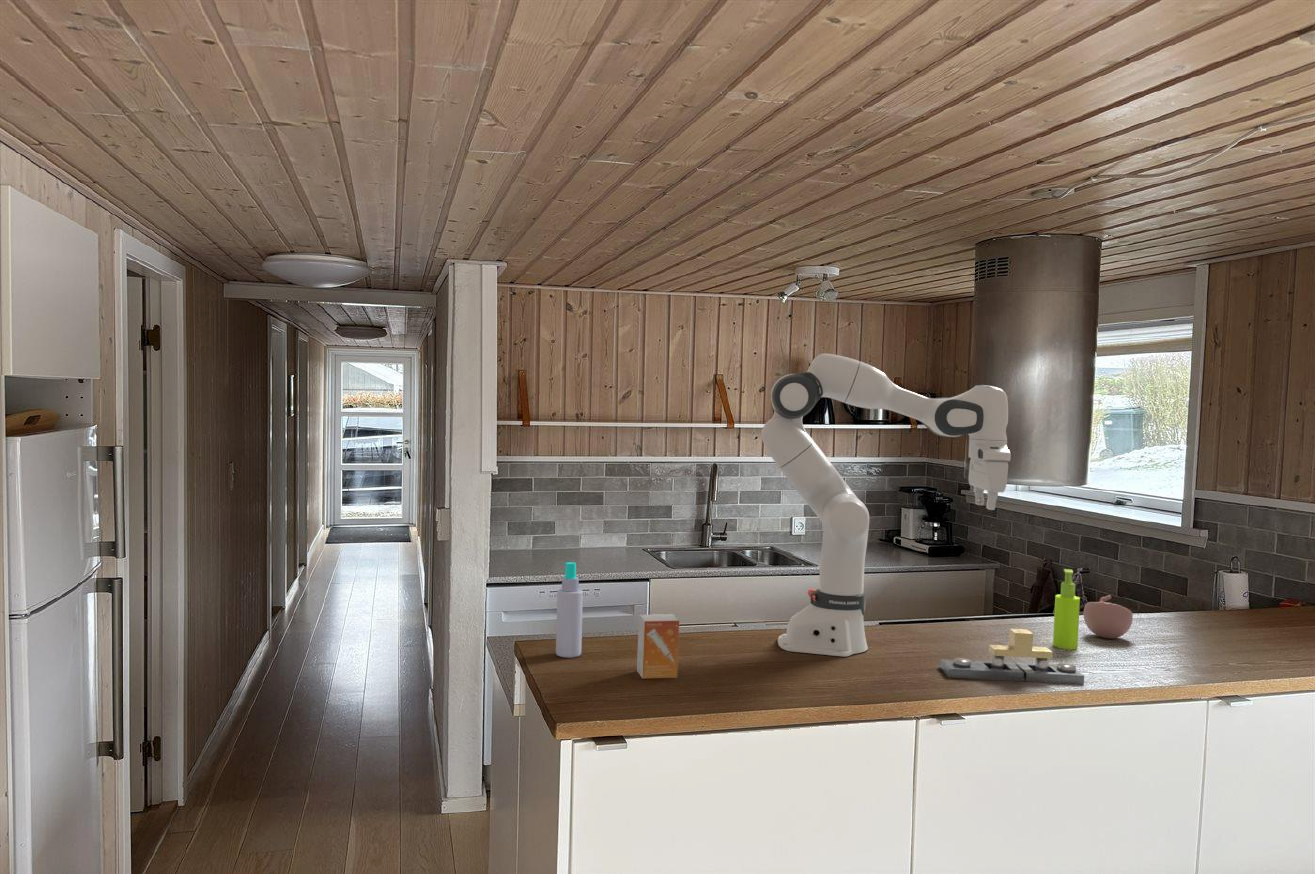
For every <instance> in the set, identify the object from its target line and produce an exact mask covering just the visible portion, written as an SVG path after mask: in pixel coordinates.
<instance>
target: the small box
mask: <svg viewBox="0 0 1315 874" xmlns="http://www.w3.org/2000/svg"><path fill="white" fill-rule="evenodd" d="M637 629H638V630H637V633H638V634H637V654H636V659H637V661H636V671H637V673H638V674H639V675H640V677H641V679H643V680H645V679H677V678H678V667H679V666H678V665H679V641H680V636H679V635H680V619H678V617H676V615H674V613H668V614H667V613H665V614H664V613H652V614H638V628H637Z"/></svg>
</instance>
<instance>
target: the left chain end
mask: <svg viewBox="0 0 1315 874" xmlns="http://www.w3.org/2000/svg"><path fill="white" fill-rule="evenodd" d="M939 663H940V664H939V669H941V670H942V672H943V673H944V674H945V675H946V677H947V678H951V679H952V678H953V679H954V678H955V679H969V680H971V679H972V680H989V681H990V680H991V681H1008V682H1009V681H1010V682H1011V681H1012V682H1024V681H1025V680H1024V672H1023V671H1022V670H1020V669H1019V668H1018V667H1017V666H1016V665H1015V663H1014V662H1013V661H1012V662H1010V661H1009V662H1008V661H1007V662H1006V661H1004V670H998V669H991V660H990V661H989V660H988V661H986V660H971V659H969V658H964V657H963V658H962V657H955V658H953V659H950V658H949V659H947V658H940V662H939Z"/></svg>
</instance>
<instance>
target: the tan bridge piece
mask: <svg viewBox="0 0 1315 874" xmlns="http://www.w3.org/2000/svg"><path fill="white" fill-rule="evenodd" d="M1008 636H1009V637H1008V645H1005V644H988V652H989V653H990V654H991V655H990V656H991V657H990V661H991V669H998V670H1004V662H1005V657H1012V658H1013V657H1014V658H1015V657H1016V658H1017V657H1018V658H1030V659H1031V658H1032V659H1034V658H1035V663H1034V664H1035V671H1039V672H1048V665H1049V662H1050V661H1049V660H1050V659H1053V651H1052V650H1050V649H1049V648H1048V647H1045V646H1033V642H1034V641H1033V639H1034V633H1033V632H1032V631H1030V630H1029V629H1028V628H1027V629H1024V628H1009V634H1008Z"/></svg>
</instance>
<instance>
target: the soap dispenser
mask: <svg viewBox="0 0 1315 874" xmlns="http://www.w3.org/2000/svg"><path fill="white" fill-rule="evenodd" d="M1063 573H1064V580H1063V581H1062V582H1061V583H1060V594H1055V596H1054V598H1055V599H1054V612H1053V613H1054V614H1053V615H1054V616H1053V635H1052V637H1053V638H1052V645H1053V646H1052V647H1055V648H1058V649H1062V650H1063V649H1064V650H1076V649H1078V647H1079V646H1078V644H1079V642H1078V641H1079V624H1080V623H1079V622H1080V605H1081V604H1080V602H1081V600H1080V599H1081V598H1080V597H1079V596H1076V583H1074V582H1073V575H1074V571H1073V569H1070V568H1069V569H1068V568H1063Z"/></svg>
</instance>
